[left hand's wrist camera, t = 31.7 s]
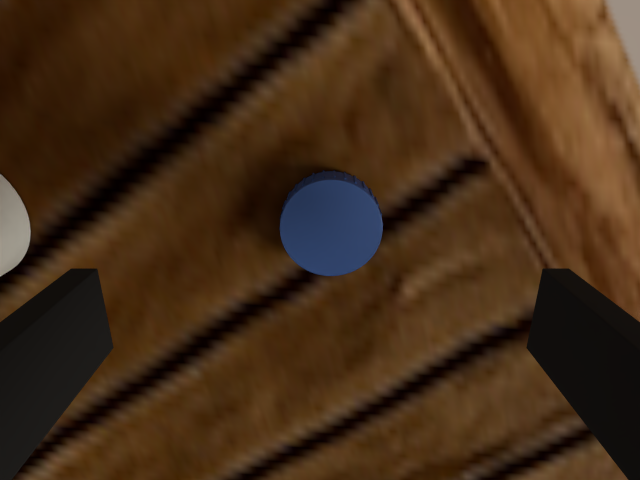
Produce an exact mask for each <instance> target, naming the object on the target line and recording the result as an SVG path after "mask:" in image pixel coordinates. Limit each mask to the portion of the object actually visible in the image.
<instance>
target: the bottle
mask: <svg viewBox="0 0 640 480" xmlns="http://www.w3.org/2000/svg"><path fill="white" fill-rule="evenodd" d="M30 233H31V231H30V222H29V217H28V214H27V211H26V208H25V206H24V204H23V202H22V200H21V198H20V197H19V195H18V193H17V192H16V190H15V189H14V188H13V187H12V185H11V184H10V183H9V182H8V181H7V180H6V179H5V178H4V177H3V176H2V175H1V174H0V276H2V275H3V274H5V273H7V272H8V271H10V270H11V269H13V268H14V267H15V266H17V265H18V264H19V262H20V261H21V260H22V259H23V257H24V256H25V254H26V252H27V249H28V247H29V242H30Z"/></svg>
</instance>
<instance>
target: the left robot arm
mask: <svg viewBox="0 0 640 480" xmlns="http://www.w3.org/2000/svg"><path fill="white" fill-rule="evenodd" d="M112 349H113V343H112V338H111V333H110V329H109V324H108V319H107V314H106V309H105V304H104V299H103V294H102V290H101V285H100V280H99V275H98V270H97V269H70V270H69V271H67V272H66V273H65V274H64V275H62V276H61V277H60V278H58V279H57V280H56V281H54V282H53V283H52V284H50V285H49V286H48V287H46V288H45V289H44V290H42V291H41V292H40V293H38V294H37V295H36V296H34V297H33V298H32V299H30V300H29V301H28V302H27V303H25V304H24V305H23V306H21V307H20V308H19V309H17V310H16V311H15V312H13V313H12V314H11V315H9V316H8V317H7V318H5V319H4V320H3V321H1V322H0V480H12V478H13V477H14V476H15V475H16V473H17V472H18V471H19V469H20V468H21V467H22V465H23V464H24V463H25V462H26V460H27V459H28V458H29V456H30V455H31V454H32V453H33V451H34V450H35V449H36V447H37V446H38V445H39V443H40V442H41V441H42V440H43V438H44V437H45V436H46V434H47V433H48V432H49V431H50V429H51V428H52V427H53V425H54V424H55V423H56V421H57V420H58V419H59V418H60V416H61V415H62V414H63V412H64V411H65V410H66V409H67V407H68V406H69V405H70V403H71V402H72V401H73V399H74V398H75V397H76V396H77V394H78V393H79V392H80V390H81V389H82V388H83V386H84V385H85V384H86V383H87V381H88V380H89V379H90V377H91V376H92V375H93V374H94V372H95V371H96V370H97V368H98V367H99V366H100V364H101V363H102V362H103V361H104V359H105V358H106V357H107V355H108V354H109V353H110V352H111V350H112ZM527 349H528V350H529V352H530V353H531V354H532V355H533V357H534V358H535V359H536V361H537V362H538V363H539V364H540V366H541V367H542V368H543V370H544V371H545V372H546V374H547V375H548V376H549V377H550V379H551V380H552V381H553V383H554V384H555V385H556V387H557V388H558V389H559V390H560V392H561V393H562V394H563V396H564V397H565V398H566V399H567V401H568V402H569V403H570V405H571V406H572V407H573V409H574V410H575V411H576V412H577V414H578V415H579V416H580V418H581V419H582V420H583V421H584V423H585V424H586V425H587V427H588V428H589V429H590V431H591V432H592V433H593V434H594V436H595V437H596V438H597V440H598V441H599V442H600V443H601V445H602V446H603V447H604V449H605V450H606V451H607V453H608V454H609V455H610V456H611V458H612V459H613V460H614V462H615V463H616V464H617V465H618V467H619V468H620V469H621V471H622V472H623V473H624V475H625V476H626V477H627V478H628V480H640V322H639V321H637V320H636V319H635V318H633V317H632V316H631V315H629V314H628V313H627V312H625V311H624V310H623V309H621V308H620V307H619V306H617V305H616V304H615V303H613V302H612V301H611V300H610V299H608V298H607V297H606V296H604V295H603V294H602V293H600V292H599V291H598V290H596V289H595V288H594V287H592V286H591V285H590V284H588V283H587V282H586V281H584V280H583V279H582V278H580V277H579V276H578V275H576V274H575V273H574V272H573V271H571V270H570V269H543V270H542V275H541V280H540V285H539V290H538V294H537V299H536V304H535V309H534V314H533V319H532V324H531V329H530V333H529V338H528V343H527Z"/></svg>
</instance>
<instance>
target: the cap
mask: <svg viewBox="0 0 640 480" xmlns="http://www.w3.org/2000/svg"><path fill="white" fill-rule="evenodd" d="M381 216H382V213H381V211H380V208H379V204H378V202H377V199H376V197H374V196H373V194H372V191H371V189H370V188H369V189H368V187H367V186H366V185H365V184H364V182H363V181H362V182H361V181H360V180H358V179H357V178H356V176H351V175H349V174H346V172H344V173H342V172H335V170H333V171H327V172H325V170H324V171H323V172H320V173H317V174H314V173H312V175H311V176H309V177H307V178H305V177H304V178H303V180H302V181H301V182H300V183H299V184H295V187H294V189H293V190H292V191H291V192H289V194H288V197H287V200H285V202H284V205H283V208H282V213H281V216H280V228H279V229H280V236H281V240H282V243H283V246H284V248H285V250H286V251H287V253H288V254H289V256H290V257H291V258H292V259H293V260H294V261H295V262H296V263H297V264H298V265H299V266H301V267H302V268H304V269H306V270H308V271H310V272H312V273H315V274H319V275H325V276H337V275H343V274H347V273H350V272H352V271H355V270H356V269H358V268H360V267H361V266H363V265H364V264H365V263H366V262H367V261H369V260H370V259H371V257H372V256H373V255H374V253H375V252H376V250H377V248H378V246H379V244H380V241H381V237H382V226H383V223H382V218H381Z"/></svg>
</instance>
